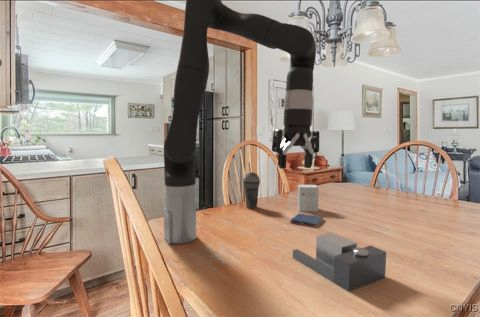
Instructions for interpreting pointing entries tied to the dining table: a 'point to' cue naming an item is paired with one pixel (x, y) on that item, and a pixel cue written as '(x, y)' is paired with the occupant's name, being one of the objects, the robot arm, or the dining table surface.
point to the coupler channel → (349, 267)
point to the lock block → (332, 248)
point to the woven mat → (307, 220)
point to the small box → (308, 198)
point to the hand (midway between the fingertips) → (295, 168)
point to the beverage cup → (251, 189)
